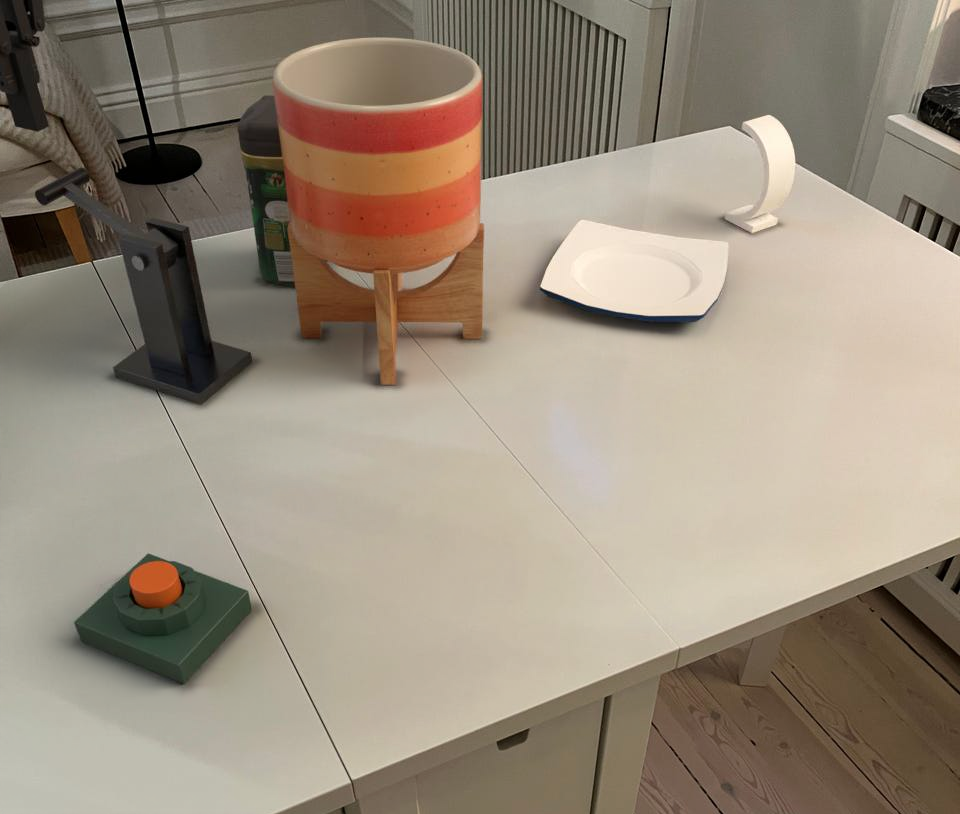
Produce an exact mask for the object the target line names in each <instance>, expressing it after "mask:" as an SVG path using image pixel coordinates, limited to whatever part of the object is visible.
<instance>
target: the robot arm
mask: <svg viewBox="0 0 960 814" xmlns="http://www.w3.org/2000/svg"><path fill="white" fill-rule="evenodd" d="M45 21H46V20H45V10H44V3H43V0H0V93H4V94H5V98H6V101H7V104H8V107H9V110H10V114H11V117H12V120H13V124H14V126H15V127H16V128H20V129H24V130H27V131H28V130H29V131H32V132H37V133H38V132H41V131H42V130H44V129H46V128H47V129H48V127H50V124H49V121H48V116H47V114H46V110H45V107H44V104H43V100H42V95H41V92H40V89H39V85H38V84H40V83H41V82H40V81H41V75H40V72H39V68H38V65H37V61H36V57H35V54H34V50H33V48H38V46H39V45H40V42H41V40H40V39H41V38H40V36H36V35H37V33H38V32H39V33H42V32H43V31H44V30H45V28H46V22H45Z"/></svg>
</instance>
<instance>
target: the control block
mask: <svg viewBox="0 0 960 814" xmlns="http://www.w3.org/2000/svg"><path fill="white" fill-rule="evenodd" d="M154 561H163V562H167V563H170V564H171V565H173V566H174V567H175V568H176V570H177V572H178V576H179V579H180V583H181V587H182V592H181V595H180V597H179V598H178V599H177V600H176V601H175V602H174V603H173V604H170V605H168V606H165V607H163V608H158V609H148V608H144V607H142V606H140V605H139V604H138V603H137V602H136V601H135V598H134V595H133V592H132V589H131V586H130V583H129V579H130V576H131V574H132V572H133V571H134V570H135V569H136V568H138V567H139V566H141V565H143V564H145V563H149V562H154ZM250 597H251V596H250V592H249V590H248V589H244V588H242V587H239V586H237V585H234V584H231V583H229V582H226V581H223V580H221V579H218V578H216V577H213V576H210V575H208V574H205V573H203V572H199V571H196V570H194V568H193V567H191V566H188V565H186V564H183V563H180V562H178V561H174V560H168V559H164V558H162V557H159V556H157V555H154V554H151V553H147V554H146V555H144V556H143V557H142V558H141V559H140V560H139V561H138V562H137V563H136V564H134V566H132V567H131V568H130V569H129V571H127V572H126V573H125V574H124V575H122V577H121V578H120V579H119V580H117V582H115V583H114V584H113V585H112V586H111V587H110V588H109V589H108V590H107V591H105V592H104V593H103V595H101V596H100V597H99V598H98V599H97V600H96V601H95V602H93V604H92V605H90V607H88V608H87V609H86V610H85V611H84V612H83V613H82V614H81V615H80V616H79V617H77V619H75V621H73V624H74V627H75V629H76V632H77V635H78V636H79V639H80V642H81V643H84V644H87V645H88V646H91V647H94V648H96V649H99V650H101V651H104V652H105V653H109V654H111V655H113V656H115V657H118V658H120V659H123V660H125V661H127V662H130V663H132V664H135V665H137V666H139V667H141V668H144V669H146V670H149V671H151V672H154V673H155V674H159V675H161V676H163V677H166V678H168V679H170V680H173V681H175V682H176V683H179V684H180V683H181V684H183V685H185V684H186V683H187V682H188V681H189V679H191V677H192V676H193V675H194V674H195V673H196V672H197V671H198V670H199V669H200V667H201V666H202V665H203V664H204V663H205V662H206V661H207V660H208V659H209V658H210V656H212V654H213V653H214V652H215V651H217V649H218V648H219V647H220V646H221V645H222V644H223V643H224V642H225V640H226V639H227V638H228V637H229V636H230V635H231V633H232V632H233V631H235V630H236V628H237V627H238V626H239V625H240V624H241V623H242V622H243V621H244V619H245V618H247V616H248V615H249V614H250V613H251V612H252V611H253V607H252V603H251V599H250Z"/></svg>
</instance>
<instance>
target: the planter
mask: <svg viewBox="0 0 960 814" xmlns="http://www.w3.org/2000/svg"><path fill="white" fill-rule="evenodd" d="M272 87H273V96H274V97H275V107H276V115H277V122H278V129H279V136H280V143H281V151H282V159H283V167H284V176H285V184H286V193H287V202H288V209H289V216H290V222H289V225H288V236H289V243H290V250H291V258H292V266H293V273H294V281H295V285H294V288H295V296H296V303H297V304H296V305H297V312H298V313H297V314H298V320H299V327H300V336H301V338H302V339H320V338H321V337H322V334H323V333H322V332H323V328H322V323H332V322H333V323H376V333H377V335H376V336H377V348H378V349H377V350H378V362H379V363H378V364H379V378H380V385H383V386H385V385H387V386H388V385H389V386H391V385H392V386H393V385H394V386H395V385H396V383H397V362H396V355H397V353H396V352H397V341H398V340H397V339H398V330H399V329H398V327H399V323H461V324H462V338H463V339H465V340H467V339H468V340H480V339H482V338H483V312H484V311H483V307H484V306H483V305H484V252H485V251H484V247H485V246H484V245H485V224H484V223H483V222H481V211H482V210H481V205H482V204H481V203H482V128H483V127H482V126H483V74H482V71H481V67H480V66H479V65H478V63H477V62H476V61H475V60H474V59H473V58H471V57H470V56H469V55H468V54H465V53H463V52H462V51H460V50H458V49H455V48H453V47H450V46H446V45H443V44H440V43H436V42H431V41H426V40H420V39H419V40H418V39H414V38H413V39H412V38H401V37H360V38H359V37H358V38H347V39H339V40H334V41H328V42H323V43H320V44H316V45H312V46H309V47H306V48H302V49H300V50H297V51H295V52H293V53H291V54H290V55H288V56H286V57H285V58H284V59H282V60H281V61H280V62H279V63H278V64H277V66H276V67H275V69H274V71H273V75H272ZM454 255H455V256H454ZM452 256H454V257H453V259H452V261H451V262H450V264H448V266H447V267H446V268H444V270H443V272H441V273H440V274H439V275H438V276H436V277H435V278H434V279H432V280H431V281H429V282H427V283H425V284H423V285H421V286H418V287H414V288H410V289H405V290H403V274H405V273H406V274H407V273H411V272H416V271H417V272H418V271H420V270H423V269H427V268H430V267H432V266H435V265H436V264H439V263H440V262H442V261H444V260H445V259H447V258H450V257H452ZM325 260H327V262H326V261H325ZM328 262H329V263H332V264H334V265H335V266H338V267H341V268H343V269H345V270H350V271H353V272H359V273H364V274H371V275H372V274H373V275H372V276H373V289H371V288H367V287H364V286H362V285H358V284H356V283H354V282H352V281H350V280H348V279H346V278H345V277H343V276H342V275H340V274H339V273H338V271H335V269H333V267H331V266H330V264H329V263H328Z"/></svg>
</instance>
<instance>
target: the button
mask: <svg viewBox="0 0 960 814" xmlns="http://www.w3.org/2000/svg"><path fill="white" fill-rule="evenodd" d="M129 583H130V586H131V589H132V592H133V595H134V598H135V601H136V602H137V603H138V604H139V605H140V606H142V607H144V608H148V609H158V608H163V607H165V606H168V605H170V604H173V603H174V602H175V601H176V600H177V599H178V598H179V597H180V595H181V592H182V587H181V583H180V579H179V576H178V572H177V570H176V568H175V567H174V566H173V565H171V564H170V563H167V562H163V561H154V562H149V563H145V564H143V565H141V566H139V567H138V568H136V569H135V570H134V571H133V572H132V574H131V576H130V579H129Z"/></svg>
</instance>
